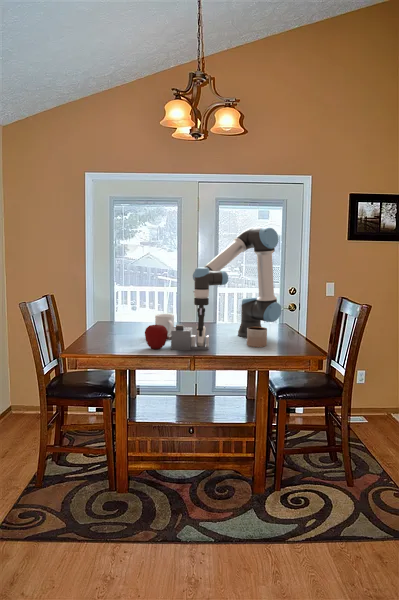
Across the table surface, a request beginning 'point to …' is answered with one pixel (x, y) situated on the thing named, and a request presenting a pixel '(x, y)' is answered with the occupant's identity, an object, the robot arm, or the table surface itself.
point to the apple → (156, 336)
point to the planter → (256, 336)
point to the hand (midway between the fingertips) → (200, 341)
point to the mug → (165, 321)
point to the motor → (185, 339)
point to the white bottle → (203, 337)
